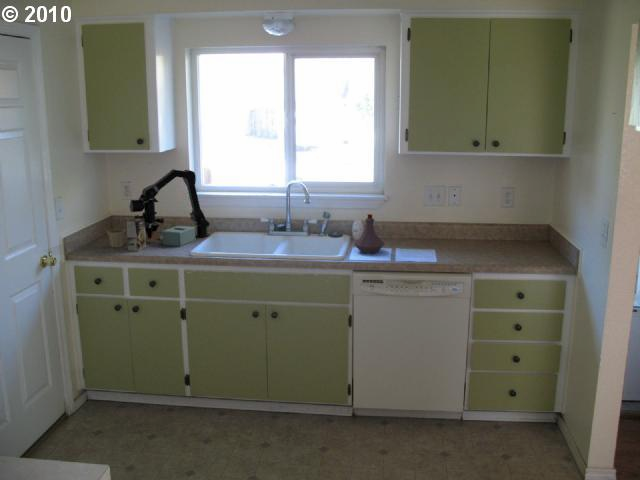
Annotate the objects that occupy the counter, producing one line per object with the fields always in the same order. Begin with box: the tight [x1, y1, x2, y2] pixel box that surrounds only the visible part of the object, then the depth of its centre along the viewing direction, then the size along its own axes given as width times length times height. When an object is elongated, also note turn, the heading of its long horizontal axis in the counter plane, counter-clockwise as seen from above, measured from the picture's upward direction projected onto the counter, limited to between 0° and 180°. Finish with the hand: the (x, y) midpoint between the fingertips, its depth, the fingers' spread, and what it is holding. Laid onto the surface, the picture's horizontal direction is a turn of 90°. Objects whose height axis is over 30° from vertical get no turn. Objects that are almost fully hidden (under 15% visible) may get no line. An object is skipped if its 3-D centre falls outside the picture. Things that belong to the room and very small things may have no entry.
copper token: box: [145, 231, 157, 242], centre depth 365 cm, size 2×5×5 cm, turn 69°
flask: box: [353, 213, 385, 254], centre depth 345 cm, size 16×16×20 cm
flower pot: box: [106, 228, 126, 249], centre depth 355 cm, size 9×9×9 cm
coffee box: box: [126, 218, 147, 252], centre depth 349 cm, size 9×6×16 cm
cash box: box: [161, 225, 196, 248], centre depth 365 cm, size 16×11×8 cm
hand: (151, 238), depth 365 cm, fingers closed on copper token, 2 cm apart
